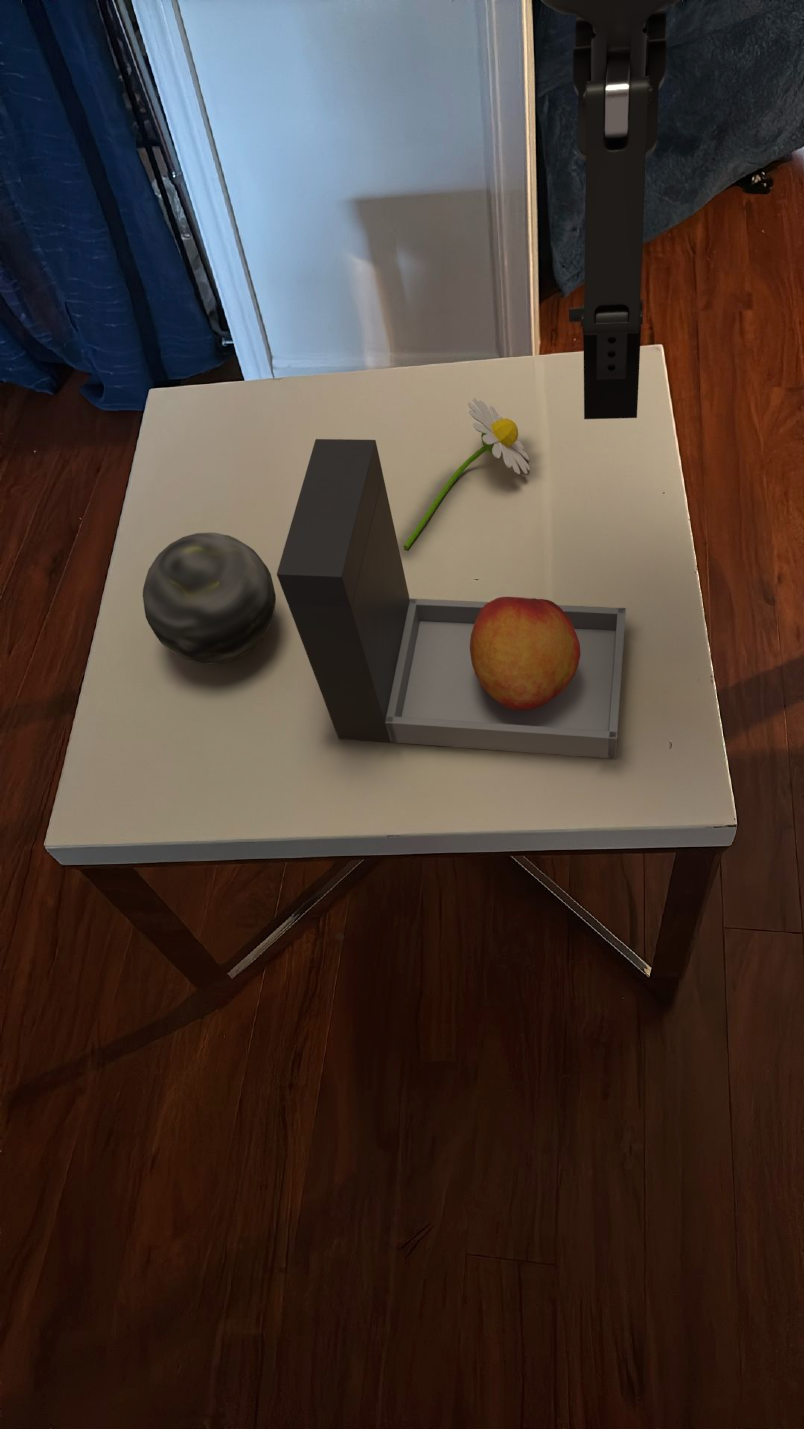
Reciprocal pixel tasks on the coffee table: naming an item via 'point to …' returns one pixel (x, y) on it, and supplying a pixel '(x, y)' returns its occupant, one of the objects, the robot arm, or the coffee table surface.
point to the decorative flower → (495, 439)
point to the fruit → (524, 651)
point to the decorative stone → (209, 598)
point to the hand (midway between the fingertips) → (614, 329)
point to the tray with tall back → (419, 632)
